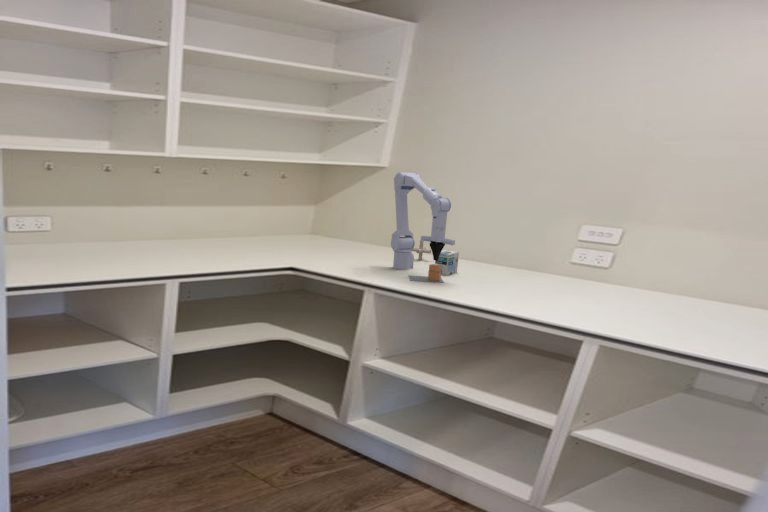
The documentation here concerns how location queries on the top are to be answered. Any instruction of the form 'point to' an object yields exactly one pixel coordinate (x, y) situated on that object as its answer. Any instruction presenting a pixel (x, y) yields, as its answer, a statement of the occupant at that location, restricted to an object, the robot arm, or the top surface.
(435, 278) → the knob
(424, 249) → the pipe connector
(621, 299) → the top surface
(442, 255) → the light bulb box
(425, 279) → the faceplate
